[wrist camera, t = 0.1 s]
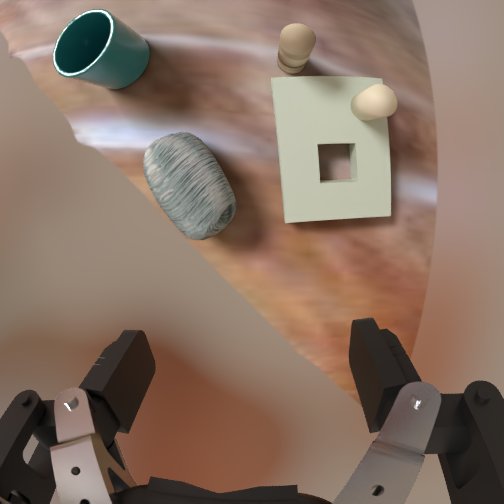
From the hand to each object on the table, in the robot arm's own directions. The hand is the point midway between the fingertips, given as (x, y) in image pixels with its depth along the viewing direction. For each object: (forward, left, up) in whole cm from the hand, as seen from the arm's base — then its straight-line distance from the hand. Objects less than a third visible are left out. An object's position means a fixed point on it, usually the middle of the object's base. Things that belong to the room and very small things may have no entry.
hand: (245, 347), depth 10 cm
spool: (-4, -8, -29) cm, 31 cm away
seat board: (-7, +10, -29) cm, 31 cm away
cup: (-25, -18, -29) cm, 42 cm away
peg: (-19, +6, -29) cm, 35 cm away
